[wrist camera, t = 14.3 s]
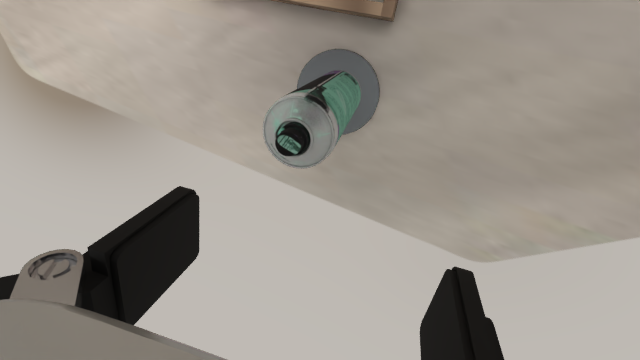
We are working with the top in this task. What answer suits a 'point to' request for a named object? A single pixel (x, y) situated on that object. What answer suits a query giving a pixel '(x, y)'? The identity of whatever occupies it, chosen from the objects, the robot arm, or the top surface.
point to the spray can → (311, 119)
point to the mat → (354, 66)
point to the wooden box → (352, 7)
